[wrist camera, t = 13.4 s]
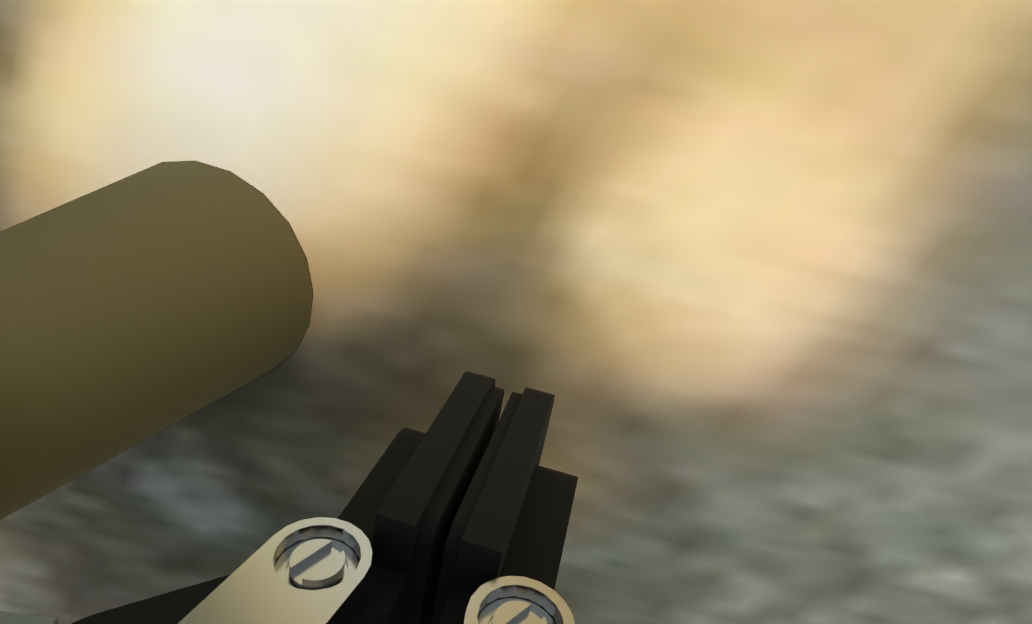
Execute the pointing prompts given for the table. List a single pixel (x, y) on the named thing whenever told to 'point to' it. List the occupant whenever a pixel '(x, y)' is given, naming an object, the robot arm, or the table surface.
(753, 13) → the table surface
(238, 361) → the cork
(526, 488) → the robot arm
